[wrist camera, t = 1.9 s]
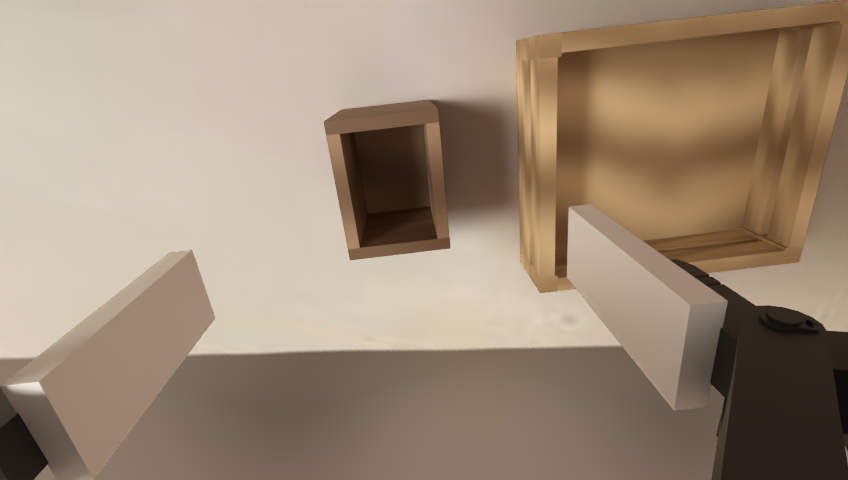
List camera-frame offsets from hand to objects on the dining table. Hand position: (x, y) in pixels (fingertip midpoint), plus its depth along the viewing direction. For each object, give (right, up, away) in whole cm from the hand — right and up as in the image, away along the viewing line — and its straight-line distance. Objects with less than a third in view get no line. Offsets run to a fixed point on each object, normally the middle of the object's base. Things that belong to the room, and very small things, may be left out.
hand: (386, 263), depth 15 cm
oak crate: (+17, +7, +16) cm, 24 cm away
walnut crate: (-1, +6, +15) cm, 16 cm away
